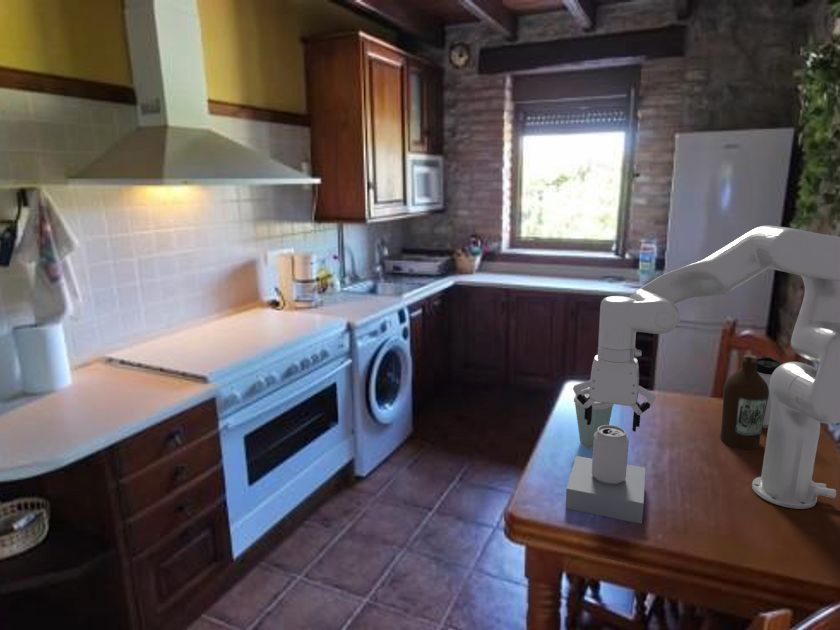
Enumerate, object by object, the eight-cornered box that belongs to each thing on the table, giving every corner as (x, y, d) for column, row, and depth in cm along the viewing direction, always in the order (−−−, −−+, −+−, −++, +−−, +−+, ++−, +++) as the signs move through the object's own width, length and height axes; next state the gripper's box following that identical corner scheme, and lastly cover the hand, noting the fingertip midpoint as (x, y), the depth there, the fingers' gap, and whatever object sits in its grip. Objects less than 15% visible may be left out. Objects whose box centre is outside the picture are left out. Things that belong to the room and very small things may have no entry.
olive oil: (711, 432, 159) (720, 350, 153) (749, 433, 158) (760, 350, 152) (728, 450, 149) (739, 362, 143) (769, 451, 148) (782, 362, 142)
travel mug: (771, 422, 165) (781, 358, 161) (771, 430, 160) (781, 365, 155) (747, 417, 169) (756, 355, 164) (746, 425, 163) (755, 361, 158)
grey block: (643, 486, 132) (645, 467, 131) (641, 524, 118) (643, 503, 117) (575, 474, 138) (576, 455, 137) (565, 508, 124) (566, 488, 123)
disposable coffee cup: (614, 454, 148) (618, 402, 144) (573, 451, 150) (575, 400, 146) (608, 436, 158) (611, 387, 154) (569, 434, 160) (572, 386, 156)
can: (599, 466, 132) (601, 420, 129) (630, 476, 127) (634, 428, 125) (586, 479, 126) (588, 431, 124) (618, 490, 122) (622, 440, 119)
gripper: (659, 352, 120) (653, 424, 124) (577, 344, 127) (574, 414, 131) (659, 362, 113) (652, 439, 117) (572, 354, 120) (569, 427, 124)
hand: (611, 425), depth 124 cm, fingers open, 9 cm apart
